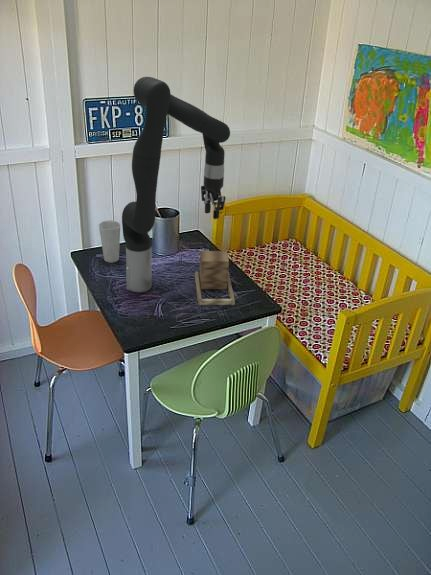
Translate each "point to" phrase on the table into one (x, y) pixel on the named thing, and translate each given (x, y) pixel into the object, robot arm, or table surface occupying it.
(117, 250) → the cup
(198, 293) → the tray
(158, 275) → the table surface
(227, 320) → the table surface
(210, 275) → the brown wooden block
